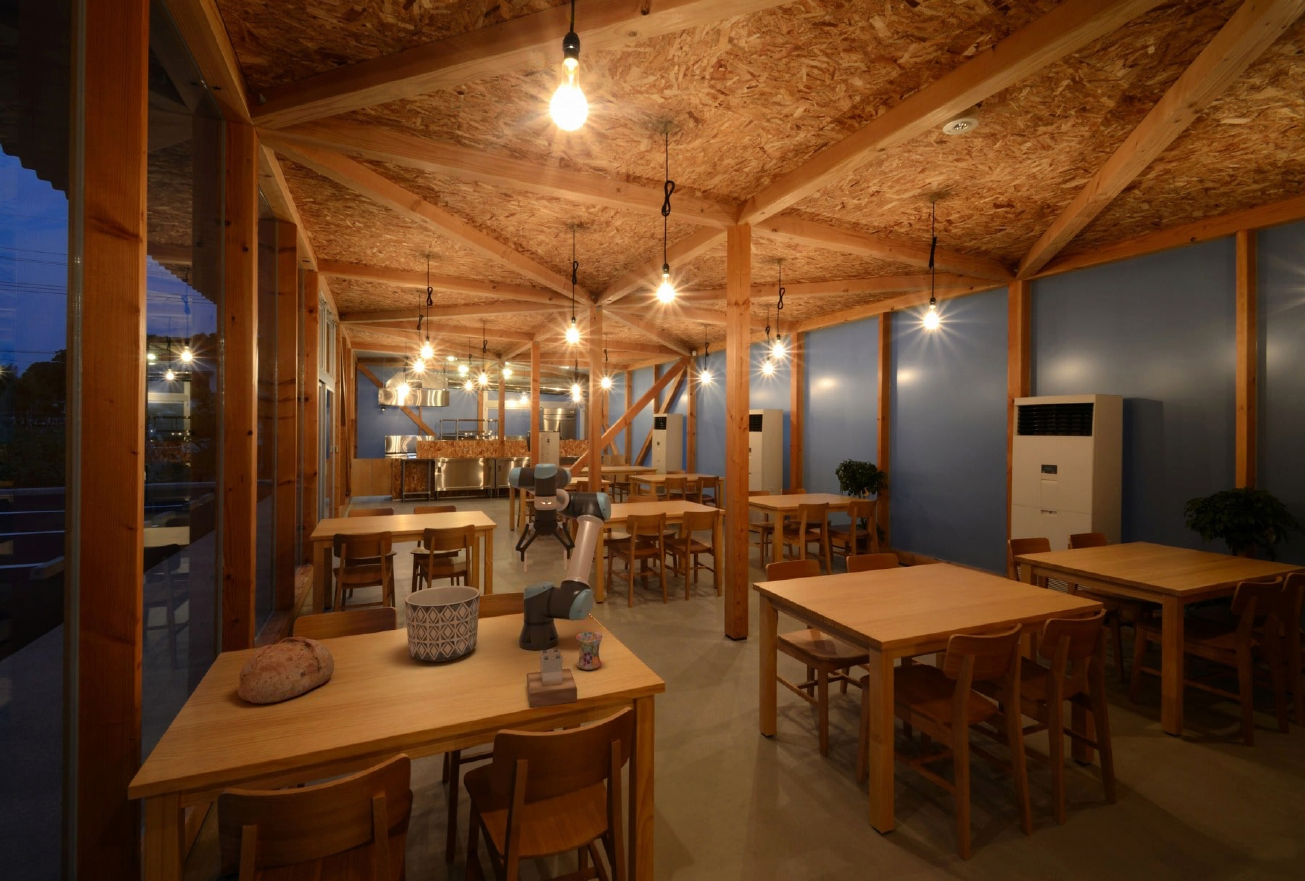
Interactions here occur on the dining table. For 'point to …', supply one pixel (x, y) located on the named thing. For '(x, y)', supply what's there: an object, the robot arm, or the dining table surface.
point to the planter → (442, 622)
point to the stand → (551, 690)
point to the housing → (551, 667)
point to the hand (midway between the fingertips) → (545, 569)
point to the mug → (589, 650)
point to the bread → (285, 670)
